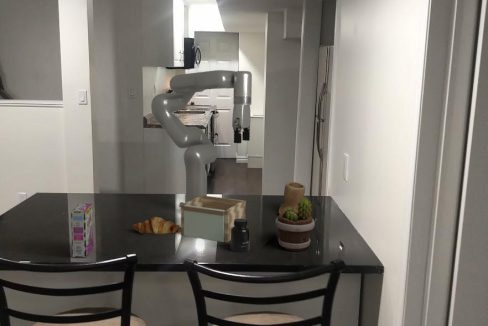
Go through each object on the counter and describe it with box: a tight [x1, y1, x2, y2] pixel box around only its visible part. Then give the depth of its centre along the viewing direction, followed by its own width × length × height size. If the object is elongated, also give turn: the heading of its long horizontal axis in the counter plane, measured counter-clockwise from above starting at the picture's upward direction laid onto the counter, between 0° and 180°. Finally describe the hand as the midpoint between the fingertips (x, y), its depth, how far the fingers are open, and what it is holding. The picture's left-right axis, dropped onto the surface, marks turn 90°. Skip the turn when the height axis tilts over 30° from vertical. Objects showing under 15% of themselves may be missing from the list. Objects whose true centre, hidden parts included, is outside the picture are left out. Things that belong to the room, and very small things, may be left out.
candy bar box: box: [70, 203, 94, 258], centre depth 165 cm, size 11×5×16 cm, turn 5°
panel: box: [183, 205, 225, 243], centre depth 179 cm, size 1×17×12 cm, turn 67°
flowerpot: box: [274, 196, 316, 252], centre depth 174 cm, size 14×15×20 cm
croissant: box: [132, 216, 181, 235], centre depth 188 cm, size 21×10×8 cm, turn 84°
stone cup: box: [278, 181, 306, 215], centre depth 218 cm, size 15×12×15 cm
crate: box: [180, 195, 247, 243], centre depth 186 cm, size 17×20×13 cm
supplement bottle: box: [230, 218, 251, 254], centre depth 168 cm, size 7×7×12 cm
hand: (241, 141), depth 199 cm, fingers open, 9 cm apart
